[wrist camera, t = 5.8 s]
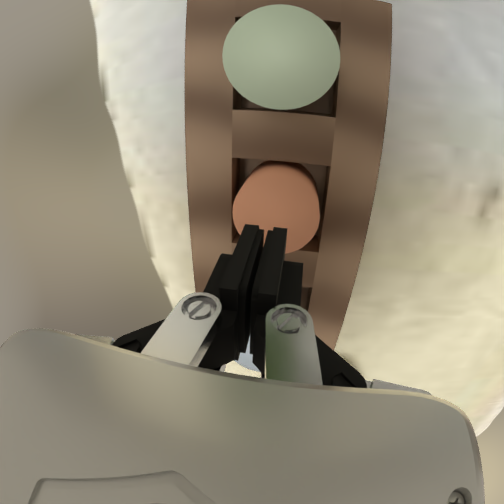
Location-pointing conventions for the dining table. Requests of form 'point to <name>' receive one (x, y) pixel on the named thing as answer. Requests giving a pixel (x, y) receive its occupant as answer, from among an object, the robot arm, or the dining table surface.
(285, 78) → the button sage
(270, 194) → the button terracotta
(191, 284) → the dining table surface
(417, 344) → the dining table surface
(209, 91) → the board
